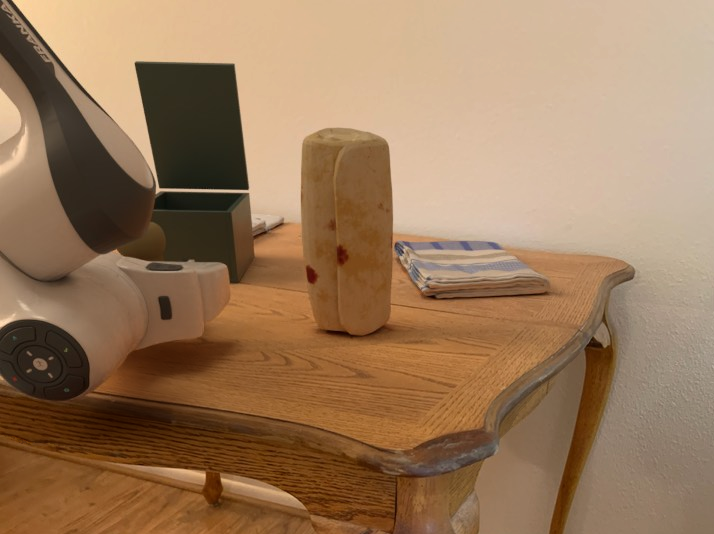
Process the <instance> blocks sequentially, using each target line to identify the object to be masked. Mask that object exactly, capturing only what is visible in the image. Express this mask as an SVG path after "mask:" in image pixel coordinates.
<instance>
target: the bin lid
mask: <svg viewBox="0 0 714 534" xmlns="http://www.w3.org/2000/svg"><path fill="white" fill-rule="evenodd" d="M134 69H135V74H136V78H137V84H138V89H139V93H140V99H141V102H142V103H141V105H142V108H143V115H144V119H145V123H146V129H147V134H148V139H149V145H150V149H151V154H152V160H153V164H154V170H155V174H156V179H157V180H156V181H157V183H158V189H162V190H166V189H168V190H219V191H221V190H222V191H249V190H250V181H249V174H248V167H247V157H246V148H245V141H244V131H243V123H242V122H243V121H242V114H241V107H240V98H239V88H238V80H237V72H236V64H235V63H228V62H224V63H223V62H188V61H187V62H186V61H185V62H183V61H182V62H181V61H180V62H179V61H143V60H142V61H139V60H138V61H137V60H136V61H135V62H134Z"/></svg>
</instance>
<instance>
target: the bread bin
mask: <svg viewBox="0 0 714 534" xmlns="http://www.w3.org/2000/svg"><path fill="white" fill-rule="evenodd" d="M250 197H251V196H250V192H232V191H231V192H227V191H225V192H224V191H223V192H222V191H221V192H220V191H177V190H176V191H175V190H174V191H171V190H168V191H167V190H160V191H158V192H156V196H155V204H154V209H153V213H152V217H151V221H150V222H153V223H156V224H157V225H159V226H160V227H161V228H162V230H163V232H164V235H165V241H166V245H165V250H164V252H163V254H162V256H163V259H164V261H165V262H178V261H180V259H189V260H194V261H195V262H219V263H223V264H225V265H226V266H227V268H228V273H229V280H230V284H239V283H240V281H241V279H242V278H243V276H244V275H245V273H246V272H247V270H248V268H249V267H250V265H251V263H252V262H253V260H254V259H255V245H254V244H255V243H254V236H253V231H252V219H251V213H252V210H251V209H252V208H251V207H252V206H251V198H250Z"/></svg>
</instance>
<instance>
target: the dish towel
mask: <svg viewBox="0 0 714 534" xmlns="http://www.w3.org/2000/svg"><path fill="white" fill-rule="evenodd" d="M393 245H394V252H395V253H396V256H397V257H398V258H399V259H400V263H401V265H402V266H403V267H404V269H406V271H407V273H408V275H409V277H410V279H411V280H412V282H413V283H414V285H416V286H417V288H419V290H420V291H421V293H422V294H423V295H424V296H426V297H430V296H434V298H435V299H437V300H438V299H452V298H475V297H477V298H478V297H497V296H516V295H517V296H518V295H531V294H532V295H533V294H543V293H546V292H547V291H548V290H550V288H551V281H550V279H549V278H548V277H547V276H546V275H545V274H542V273H539V272H536V271H535V269H534V268H532V267H531V266H529V265H528V264H526V263H525V262H523V261H522V260H520V259H518V257H517V256H515V255H514V254H512V253H511V252H508V251H507V250H505V248H503V246H501V245H500V244H499V243H498V242H494V241H486V240H485V241H484V240H440V241H439V240H438V241H405V240H397V241H395V242H394V244H393Z"/></svg>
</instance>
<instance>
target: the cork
mask: <svg viewBox="0 0 714 534" xmlns="http://www.w3.org/2000/svg"><path fill="white" fill-rule="evenodd" d="M165 245H166V241H165V235H164V232H163V230H162V228H161V227H160V226H159V225H157V224H156V223H153V222H150V224H149V227H148V229H147V232H146V234H145V235H144V237H142V238H140V239H138V240H136V241H134V242H131V243H129V244H127V245H125V246H123V247H120V248H118V249H116V251H117V253H118V254H120V255H123V256H125V257H132V258H136V259H140V260H144V261H164V259H163V256H162V254H163V252H164V250H165Z"/></svg>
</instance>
